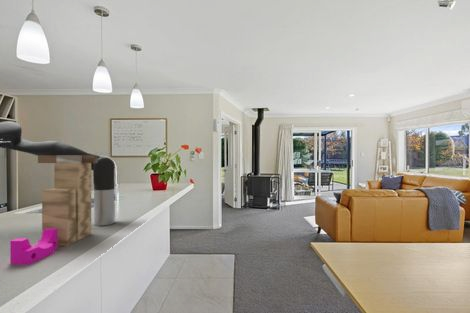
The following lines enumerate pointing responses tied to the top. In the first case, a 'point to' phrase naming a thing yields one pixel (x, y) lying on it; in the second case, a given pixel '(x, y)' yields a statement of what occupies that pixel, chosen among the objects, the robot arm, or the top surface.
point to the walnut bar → (54, 158)
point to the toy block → (33, 248)
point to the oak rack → (68, 200)
